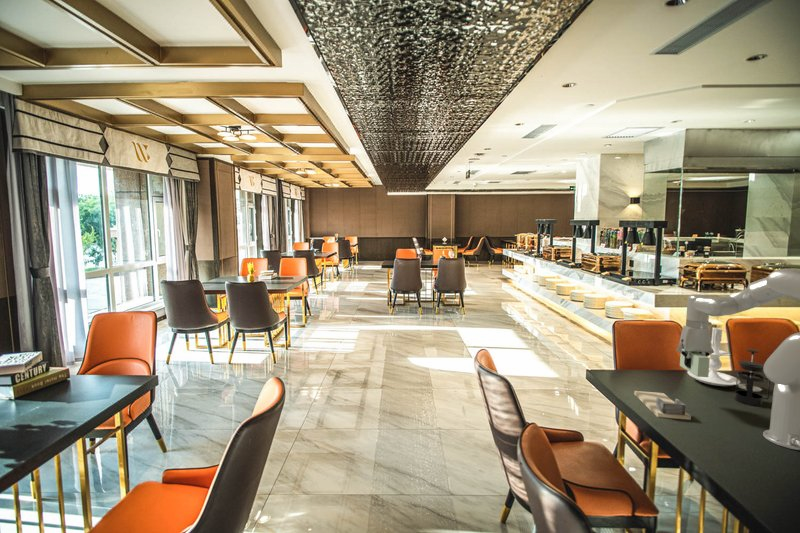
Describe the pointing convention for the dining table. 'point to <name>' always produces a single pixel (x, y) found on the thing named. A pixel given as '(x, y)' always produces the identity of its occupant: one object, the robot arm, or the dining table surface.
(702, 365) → the pale green block
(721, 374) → the candlestick
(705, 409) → the dining table surface
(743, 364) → the french press
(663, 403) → the board
